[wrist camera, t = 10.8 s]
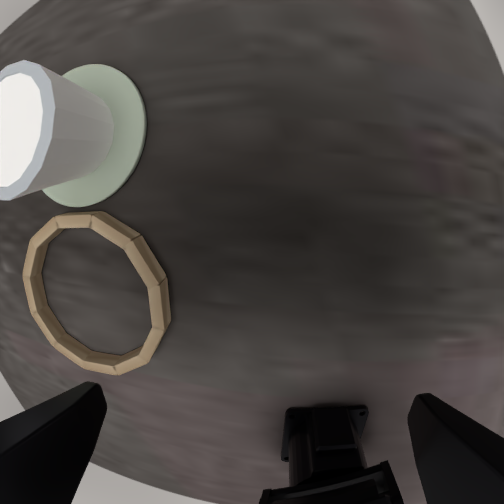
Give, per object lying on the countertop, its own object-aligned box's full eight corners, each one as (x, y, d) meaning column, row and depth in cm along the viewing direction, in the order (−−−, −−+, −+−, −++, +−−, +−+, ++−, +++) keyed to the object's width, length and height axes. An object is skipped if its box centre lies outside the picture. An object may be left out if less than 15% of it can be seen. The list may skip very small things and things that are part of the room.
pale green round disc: (147, 203, 19) (144, 204, 18) (34, 209, 19) (29, 210, 18) (150, 54, 16) (146, 51, 16) (36, 83, 17) (31, 82, 16)
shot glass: (45, 195, 18) (-28, 212, 11) (39, 101, 16) (-32, 90, 10) (128, 177, 18) (59, 186, 11) (120, 71, 16) (56, 37, 9)
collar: (177, 371, 22) (172, 383, 20) (53, 350, 22) (44, 359, 21) (163, 209, 19) (154, 212, 17) (26, 215, 19) (14, 218, 18)
